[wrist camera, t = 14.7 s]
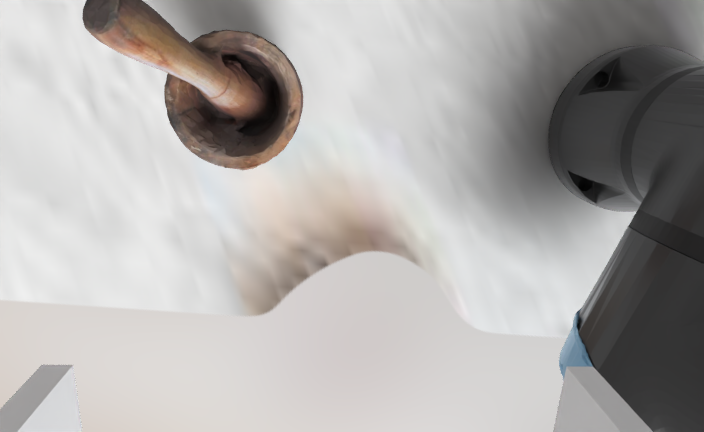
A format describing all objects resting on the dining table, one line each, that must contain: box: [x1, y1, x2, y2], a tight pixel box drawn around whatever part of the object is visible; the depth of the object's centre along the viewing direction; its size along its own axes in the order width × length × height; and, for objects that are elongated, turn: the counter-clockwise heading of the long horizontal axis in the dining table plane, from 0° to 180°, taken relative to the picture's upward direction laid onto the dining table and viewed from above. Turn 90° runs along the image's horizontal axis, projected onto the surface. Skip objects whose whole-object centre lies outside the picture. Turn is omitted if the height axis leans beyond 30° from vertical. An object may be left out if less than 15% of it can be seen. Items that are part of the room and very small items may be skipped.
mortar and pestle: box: [83, 0, 303, 170], centre depth 33 cm, size 12×9×20 cm
